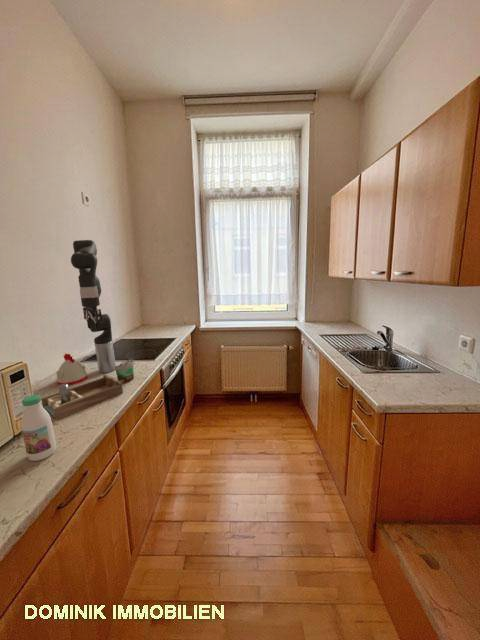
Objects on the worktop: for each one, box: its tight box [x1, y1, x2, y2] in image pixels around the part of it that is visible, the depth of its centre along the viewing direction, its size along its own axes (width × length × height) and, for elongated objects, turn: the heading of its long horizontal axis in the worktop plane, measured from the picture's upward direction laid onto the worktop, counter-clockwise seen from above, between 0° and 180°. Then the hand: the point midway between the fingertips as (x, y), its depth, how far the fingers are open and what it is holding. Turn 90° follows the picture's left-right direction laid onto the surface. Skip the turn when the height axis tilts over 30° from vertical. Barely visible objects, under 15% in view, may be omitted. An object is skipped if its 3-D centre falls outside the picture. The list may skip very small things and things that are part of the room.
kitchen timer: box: [56, 353, 88, 386], centre depth 144 cm, size 14×14×15 cm
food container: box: [114, 357, 135, 384], centre depth 142 cm, size 12×6×10 cm, turn 168°
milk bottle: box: [21, 394, 57, 462], centre depth 85 cm, size 8×8×20 cm
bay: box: [41, 374, 124, 421], centre depth 122 cm, size 16×28×6 cm, turn 142°
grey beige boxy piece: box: [47, 383, 84, 410], centre depth 115 cm, size 12×10×9 cm
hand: (94, 329), depth 130 cm, fingers open, 8 cm apart
